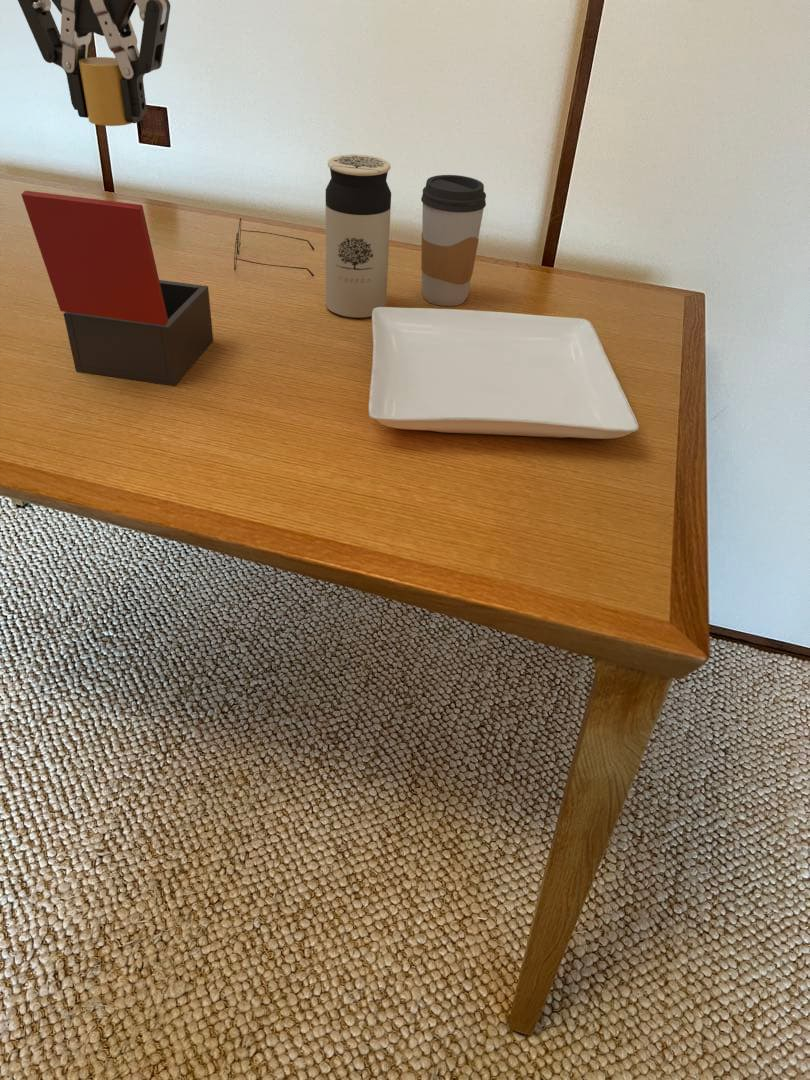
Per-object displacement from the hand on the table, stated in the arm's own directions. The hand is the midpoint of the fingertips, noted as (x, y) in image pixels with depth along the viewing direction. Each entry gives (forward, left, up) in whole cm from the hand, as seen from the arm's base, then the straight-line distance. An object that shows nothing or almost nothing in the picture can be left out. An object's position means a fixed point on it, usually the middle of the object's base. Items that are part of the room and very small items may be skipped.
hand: (111, 117), depth 78 cm
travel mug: (+28, +7, -25) cm, 38 cm away
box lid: (-4, -5, -11) cm, 13 cm away
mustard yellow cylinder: (0, 0, 0) cm, 0 cm away
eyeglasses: (+22, +25, -25) cm, 41 cm away
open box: (0, 0, -25) cm, 25 cm away
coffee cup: (+41, +7, -25) cm, 49 cm away
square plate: (+35, -18, -25) cm, 47 cm away
